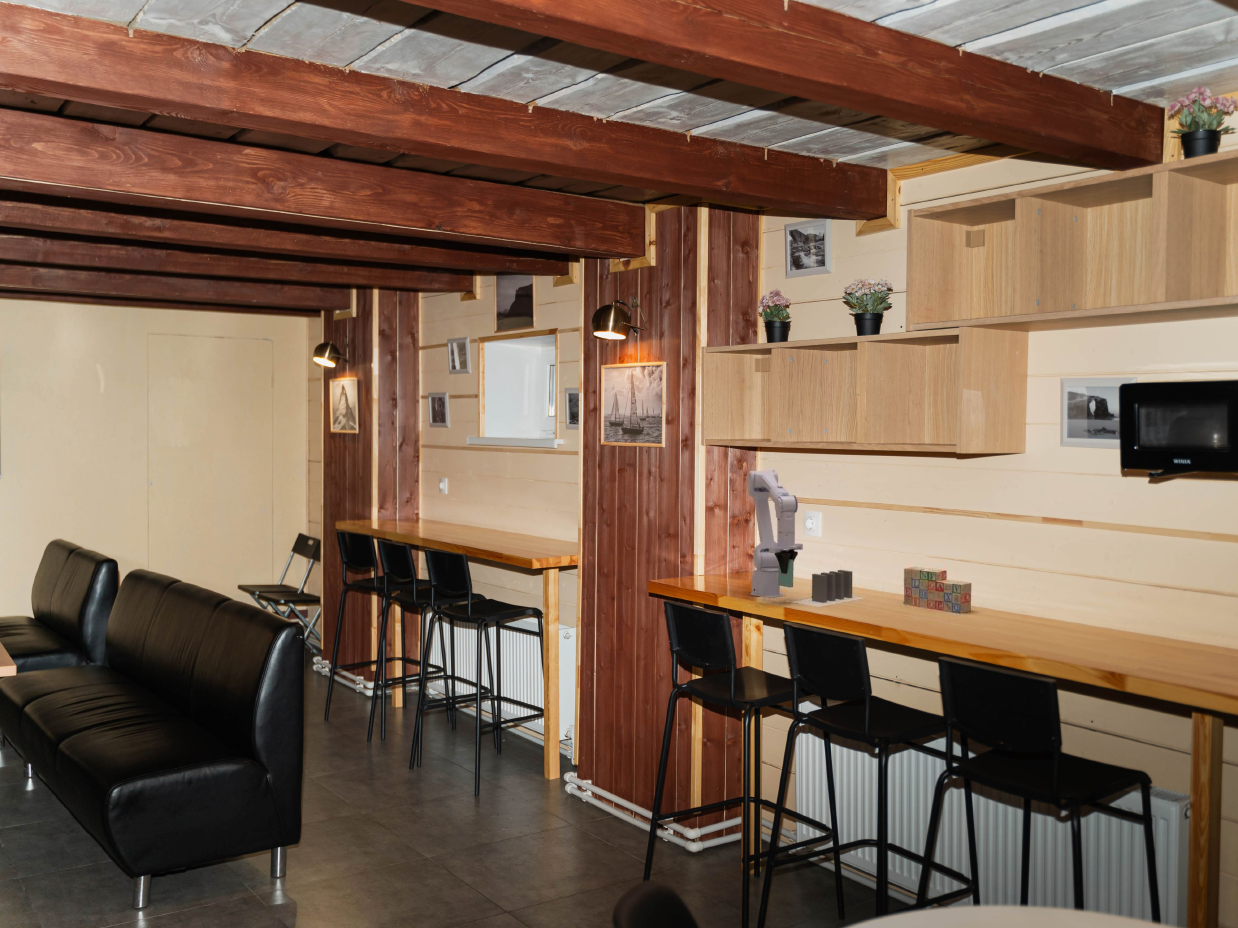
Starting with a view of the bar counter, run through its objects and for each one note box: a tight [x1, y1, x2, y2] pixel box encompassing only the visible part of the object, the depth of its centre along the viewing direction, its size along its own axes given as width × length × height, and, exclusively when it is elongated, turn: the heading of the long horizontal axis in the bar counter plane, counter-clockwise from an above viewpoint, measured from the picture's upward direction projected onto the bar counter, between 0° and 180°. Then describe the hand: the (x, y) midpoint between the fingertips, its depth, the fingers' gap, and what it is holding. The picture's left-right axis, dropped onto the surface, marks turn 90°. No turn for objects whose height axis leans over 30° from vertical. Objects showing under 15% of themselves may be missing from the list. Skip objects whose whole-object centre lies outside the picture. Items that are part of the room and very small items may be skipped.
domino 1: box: [778, 559, 795, 588], centre depth 351 cm, size 2×5×9 cm, turn 41°
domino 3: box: [820, 572, 836, 601], centre depth 357 cm, size 2×5×9 cm, turn 40°
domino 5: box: [837, 569, 853, 598], centre depth 362 cm, size 2×5×9 cm, turn 40°
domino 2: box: [811, 573, 827, 603], centre depth 354 cm, size 2×5×9 cm, turn 40°
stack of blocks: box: [903, 566, 972, 614], centre depth 344 cm, size 21×6×12 cm, turn 39°
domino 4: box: [828, 570, 844, 600], centre depth 359 cm, size 2×5×9 cm, turn 40°
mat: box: [790, 595, 865, 608], centre depth 357 cm, size 12×25×1 cm, turn 130°
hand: (786, 573), depth 351 cm, fingers closed on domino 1, 1 cm apart
